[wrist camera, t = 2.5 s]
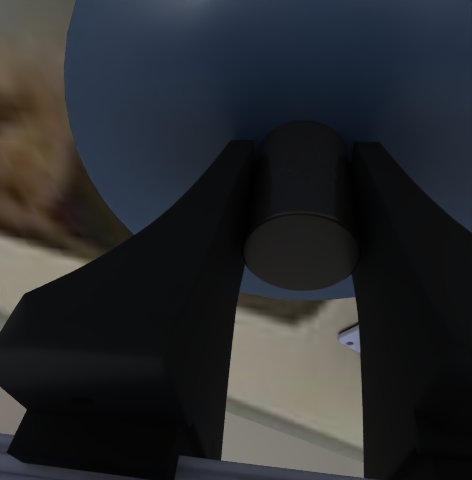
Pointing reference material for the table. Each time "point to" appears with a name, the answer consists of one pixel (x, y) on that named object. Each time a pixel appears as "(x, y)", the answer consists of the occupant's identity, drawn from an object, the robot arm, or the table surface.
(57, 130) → the table surface
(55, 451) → the robot arm
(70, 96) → the pot lid
